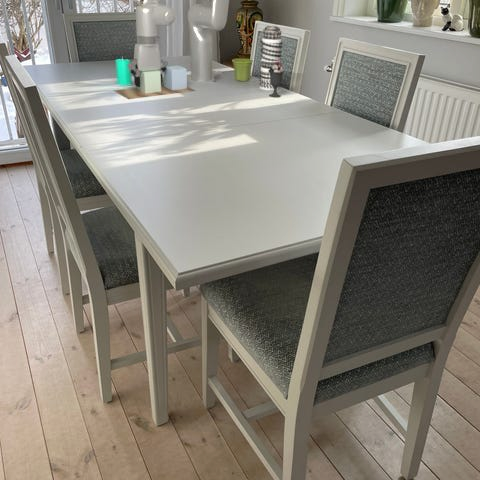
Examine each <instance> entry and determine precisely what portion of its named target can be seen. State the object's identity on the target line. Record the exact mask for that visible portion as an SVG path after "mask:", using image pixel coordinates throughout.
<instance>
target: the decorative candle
mask: <svg viewBox="0 0 480 480" xmlns="http://www.w3.org/2000/svg"><path fill="white" fill-rule="evenodd" d="M262 32H263V33H262V40H260V43H261V45H260V48H261V49H260V61H261V67H260V71H259V73H260V75H259V77H260V78H259V83H258V85H259V87H258V88H259V89H260V90H262V91H274V87H273V86H272V85H271V80H270V73H269V71H268V70H270V69H269V67H270V66H271V67H272V66H273V65H274V64H275V63H276V62H278V61H279V60H281V59H280V58H282V50H280V49H282V48H283V46H282V45H283V42H282V32H283V31H282V30H281V28H280V27H279V26H274V25H269V26H265V28H264V29H263V30H262ZM278 64H280V61H279V62H278ZM277 90H279V86H278V87H277Z"/></svg>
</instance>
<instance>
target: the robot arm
mask: <svg viewBox="0 0 480 480" xmlns="http://www.w3.org/2000/svg"><path fill="white" fill-rule="evenodd" d="M142 1H143V2H142V4H141V5H138V6H136V7H135V26H136V27H135V29H136V43H135V44H134V50H133V61H130V64H128V65H127V67H128V69H129V71H130V72H131V75H133V79H134V80H133V81H134V85H135V86H136V88H138V87H140V77H139V74H140V73H141V71H142V72H143V71H155V70H158V71H160V75H161V85H163V83H164V71H165V70H166V67H168V65H169V62H167V61H166V60H164V59H161V51H160V47H159V46H160V45H159V44H158V41H160V36H158V35H157V26H161V27H167V26H170V25H171V26H172V24H173V23H174V22H175V20H176V12H175V10H174V9H173V7H171V6H169V5H167V4H162V3H160V1H161V0H142ZM201 1H203V2H210V3H211V4H201V3H197V4H194V5H191V6H190V7H189V9H188V12H187V21H188V26H189V27H188V28H189V35H190V39H189V40H190V76H187V81H190V82H194V83H210V82H213V83H216V78H215V77H216V76H217V77H218V76H222V71H221V70H217V71H216V70H214V69H213V35H212V33H211V31H213V32H218V31H219V32H220V31H222V30H224V28H225V26H226V24H227V22H228V14H229V7H230V6H229V4H230V0H201Z"/></svg>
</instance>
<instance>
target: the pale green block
mask: <svg viewBox="0 0 480 480" xmlns="http://www.w3.org/2000/svg"><path fill="white" fill-rule="evenodd" d="M139 77H140V87H137V88H138V90H140V91H142V92H144V93H153V92H161V75H160V71H158V70H155V71H143V72H142V71H141V73H140V74H139Z"/></svg>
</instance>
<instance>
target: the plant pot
mask: <svg viewBox="0 0 480 480" xmlns="http://www.w3.org/2000/svg"><path fill="white" fill-rule="evenodd" d="M231 62H232V64H233V69H234V78H235V81H237V82H239V81H240V82H248V81H249V79H250V74H251V73H250V72H251V67H252V65H253V62H254V60H253V59H249V58H234V59H231Z"/></svg>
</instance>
